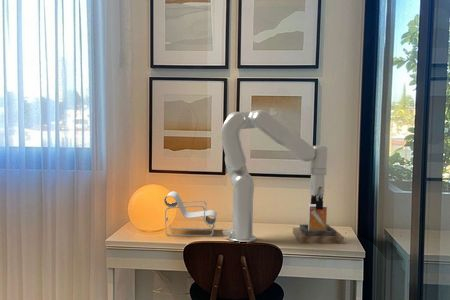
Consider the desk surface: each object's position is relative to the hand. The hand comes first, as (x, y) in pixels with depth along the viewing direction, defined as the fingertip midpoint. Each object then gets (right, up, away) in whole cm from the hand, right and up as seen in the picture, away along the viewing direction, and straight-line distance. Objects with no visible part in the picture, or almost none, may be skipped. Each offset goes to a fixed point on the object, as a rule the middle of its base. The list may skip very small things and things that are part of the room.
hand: (316, 207), depth 210 cm
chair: (-61, -14, +10) cm, 63 cm away
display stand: (0, -15, +1) cm, 15 cm away
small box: (0, -12, +1) cm, 12 cm away
